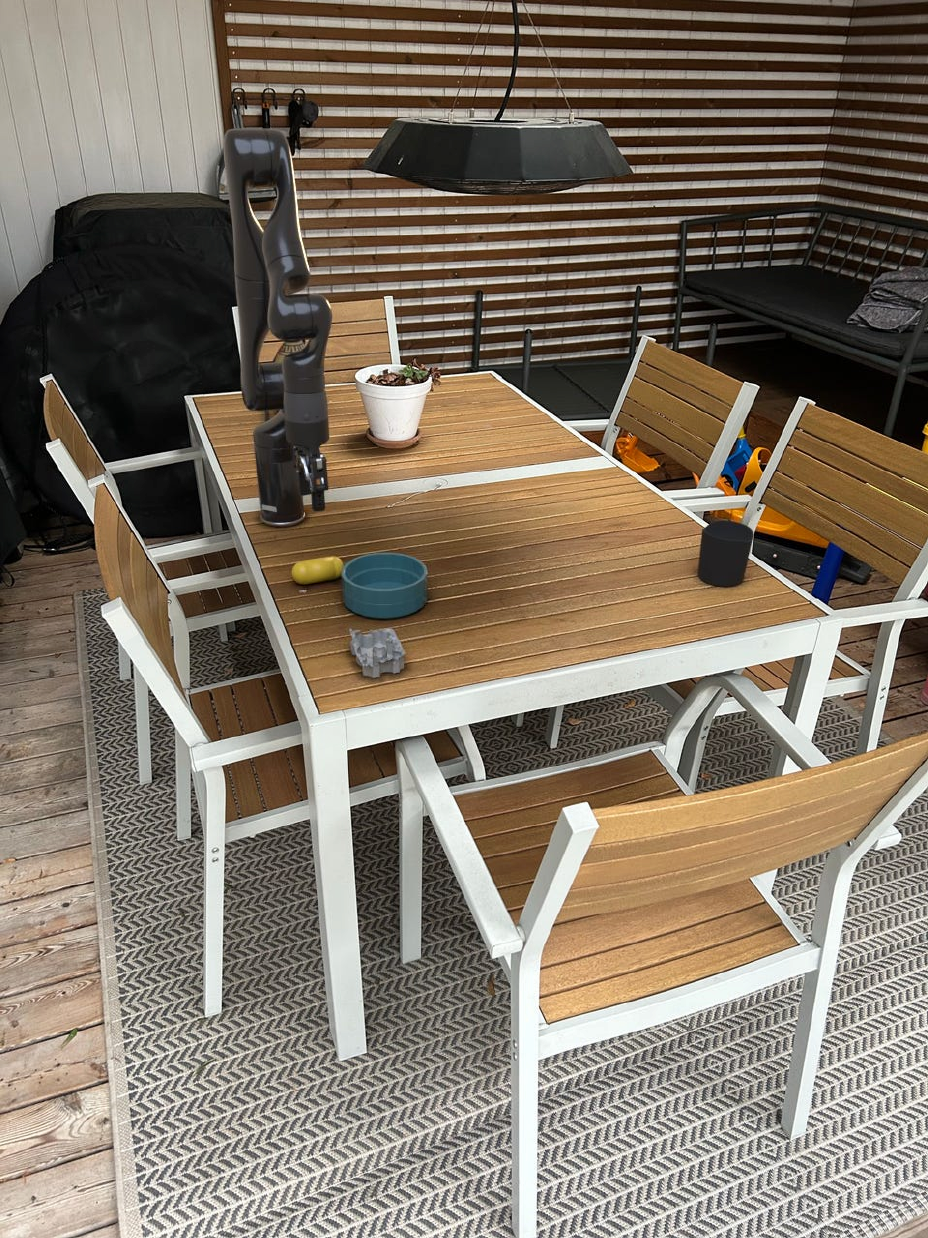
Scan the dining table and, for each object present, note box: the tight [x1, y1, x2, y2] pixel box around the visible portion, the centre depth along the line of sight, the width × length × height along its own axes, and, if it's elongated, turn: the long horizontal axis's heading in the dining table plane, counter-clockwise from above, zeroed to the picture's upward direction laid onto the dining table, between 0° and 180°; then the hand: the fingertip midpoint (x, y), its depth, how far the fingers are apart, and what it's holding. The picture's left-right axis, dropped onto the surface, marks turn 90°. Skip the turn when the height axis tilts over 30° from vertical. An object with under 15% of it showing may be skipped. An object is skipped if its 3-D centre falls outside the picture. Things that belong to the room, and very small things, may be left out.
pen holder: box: [697, 519, 755, 588], centre depth 181 cm, size 9×9×10 cm
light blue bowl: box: [341, 552, 428, 620], centre depth 171 cm, size 15×15×6 cm
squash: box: [291, 555, 349, 586], centre depth 178 cm, size 11×4×4 cm, turn 114°
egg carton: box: [348, 627, 407, 679], centre depth 153 cm, size 11×8×4 cm
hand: (312, 502), depth 172 cm, fingers open, 8 cm apart
